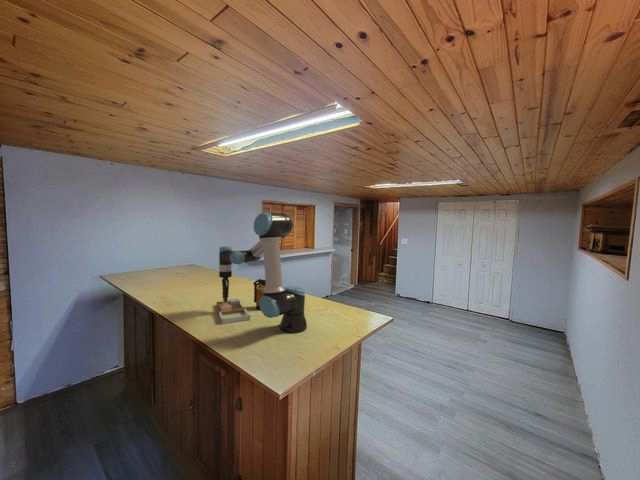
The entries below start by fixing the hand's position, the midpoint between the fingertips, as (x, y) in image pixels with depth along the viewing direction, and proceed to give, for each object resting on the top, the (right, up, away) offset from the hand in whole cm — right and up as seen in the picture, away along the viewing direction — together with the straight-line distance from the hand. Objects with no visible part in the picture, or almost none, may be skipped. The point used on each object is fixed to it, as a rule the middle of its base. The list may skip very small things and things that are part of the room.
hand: (225, 306), depth 172 cm
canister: (+21, -4, +11) cm, 24 cm away
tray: (+9, -5, -10) cm, 14 cm away
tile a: (+1, -1, -3) cm, 4 cm away
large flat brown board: (+1, -3, +6) cm, 7 cm away
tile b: (+3, 0, +9) cm, 10 cm away
